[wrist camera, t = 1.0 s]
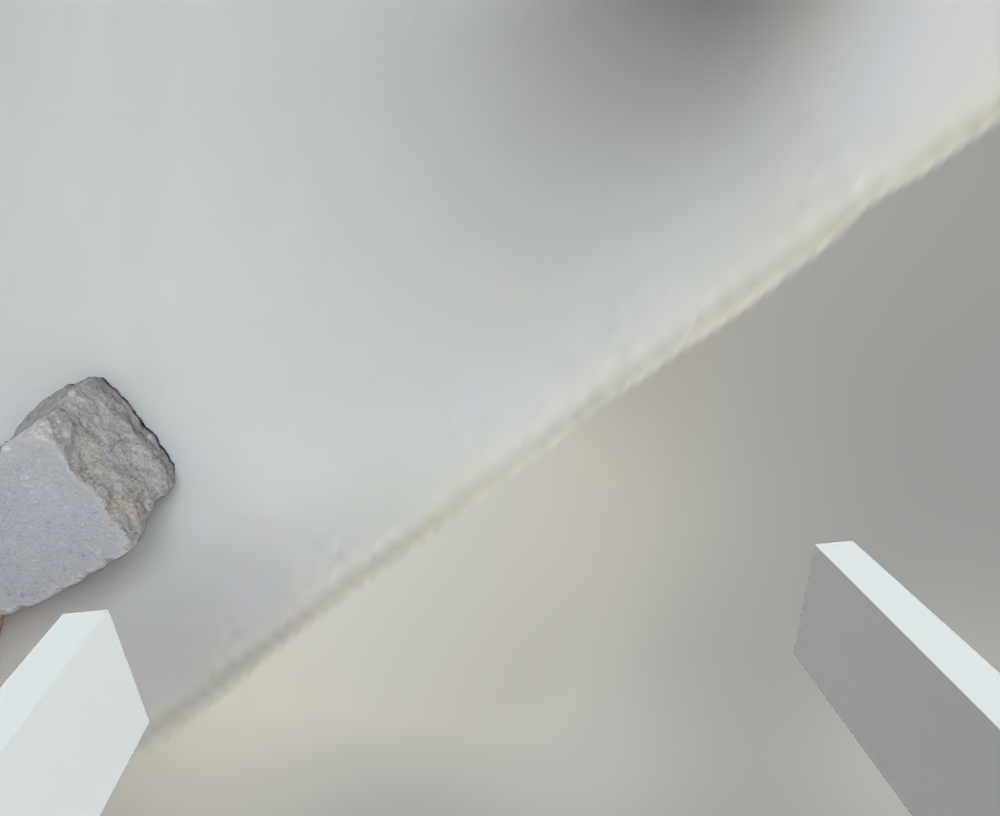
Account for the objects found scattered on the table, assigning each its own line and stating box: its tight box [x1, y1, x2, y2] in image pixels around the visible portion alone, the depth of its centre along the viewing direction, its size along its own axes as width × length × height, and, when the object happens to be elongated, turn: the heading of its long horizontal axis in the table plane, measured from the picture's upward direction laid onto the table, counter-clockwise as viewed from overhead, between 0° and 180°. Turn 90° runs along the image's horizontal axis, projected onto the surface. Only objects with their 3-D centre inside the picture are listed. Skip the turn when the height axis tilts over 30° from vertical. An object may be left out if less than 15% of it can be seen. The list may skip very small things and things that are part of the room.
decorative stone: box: [0, 377, 175, 615], centre depth 32 cm, size 15×7×10 cm
